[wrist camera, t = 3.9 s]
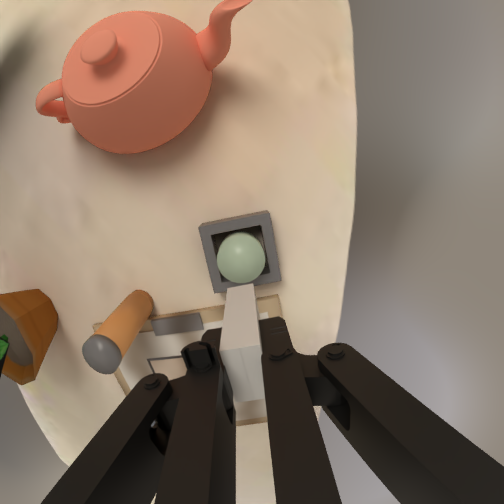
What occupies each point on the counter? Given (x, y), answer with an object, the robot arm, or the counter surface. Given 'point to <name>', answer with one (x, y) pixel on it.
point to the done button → (241, 257)
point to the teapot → (138, 78)
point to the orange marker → (117, 333)
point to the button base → (234, 223)
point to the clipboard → (174, 340)
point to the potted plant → (25, 333)
